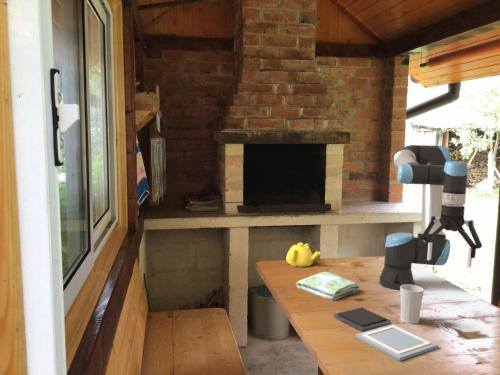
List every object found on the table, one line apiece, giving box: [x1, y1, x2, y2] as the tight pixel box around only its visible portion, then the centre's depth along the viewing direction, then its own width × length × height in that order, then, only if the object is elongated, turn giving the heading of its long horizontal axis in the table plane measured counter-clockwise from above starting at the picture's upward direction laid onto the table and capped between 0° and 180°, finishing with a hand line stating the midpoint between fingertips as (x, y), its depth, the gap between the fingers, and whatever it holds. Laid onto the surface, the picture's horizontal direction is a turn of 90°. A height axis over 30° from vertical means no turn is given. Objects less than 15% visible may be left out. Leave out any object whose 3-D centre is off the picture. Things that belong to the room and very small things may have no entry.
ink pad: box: [333, 307, 392, 333], centre depth 161 cm, size 14×14×2 cm
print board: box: [354, 323, 439, 362], centre depth 144 cm, size 18×18×1 cm
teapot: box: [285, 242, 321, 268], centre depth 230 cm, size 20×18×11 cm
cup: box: [399, 284, 425, 325], centre depth 162 cm, size 8×8×12 cm
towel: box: [295, 271, 360, 301], centre depth 193 cm, size 18×21×5 cm
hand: (448, 263), depth 161 cm, fingers open, 13 cm apart
